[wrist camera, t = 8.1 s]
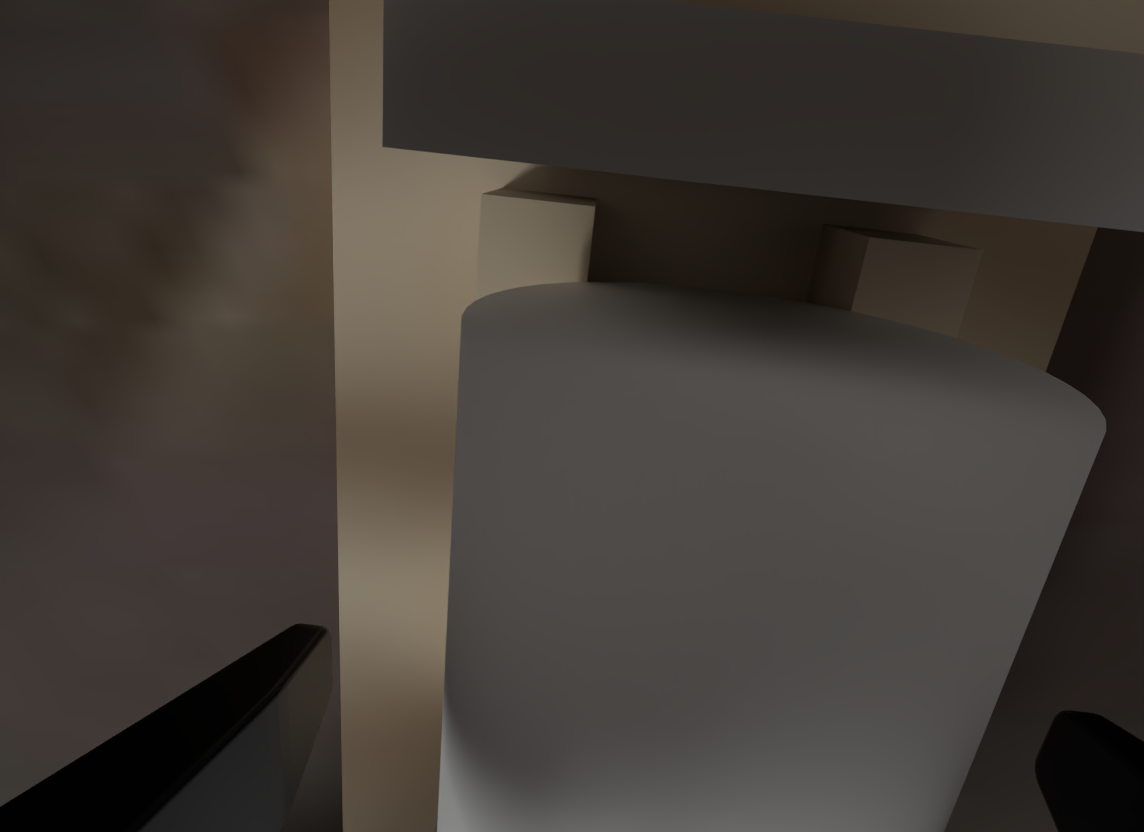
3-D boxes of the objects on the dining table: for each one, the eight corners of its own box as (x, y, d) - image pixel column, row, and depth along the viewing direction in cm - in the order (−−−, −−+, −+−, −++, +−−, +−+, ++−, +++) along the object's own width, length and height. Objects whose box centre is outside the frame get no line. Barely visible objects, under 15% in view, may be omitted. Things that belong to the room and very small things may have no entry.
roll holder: (837, 884, 17) (967, 1286, 11) (354, 830, 17) (218, 1201, 11) (1165, -67, 10) (2028, -414, 4) (347, -158, 10) (-42, -642, 4)
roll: (788, 780, 13) (925, 1250, 7) (473, 743, 13) (373, 1180, 8) (921, 312, 10) (1333, 512, 4) (506, 265, 10) (374, 403, 4)
